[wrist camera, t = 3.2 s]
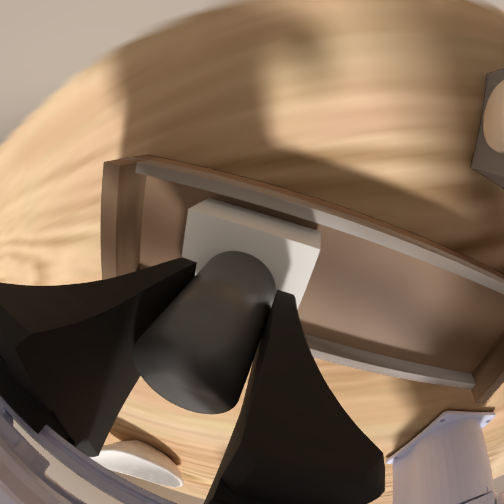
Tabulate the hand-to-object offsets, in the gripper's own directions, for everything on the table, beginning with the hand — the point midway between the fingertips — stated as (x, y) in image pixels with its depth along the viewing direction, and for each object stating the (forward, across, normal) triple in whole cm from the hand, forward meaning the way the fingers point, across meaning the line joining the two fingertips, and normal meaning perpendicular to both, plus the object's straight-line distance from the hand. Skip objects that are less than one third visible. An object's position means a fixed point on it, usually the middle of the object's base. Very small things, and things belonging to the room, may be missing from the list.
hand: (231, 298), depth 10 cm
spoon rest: (+5, +13, +38) cm, 40 cm away
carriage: (+3, 0, 0) cm, 3 cm away
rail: (+4, -5, 0) cm, 7 cm away
